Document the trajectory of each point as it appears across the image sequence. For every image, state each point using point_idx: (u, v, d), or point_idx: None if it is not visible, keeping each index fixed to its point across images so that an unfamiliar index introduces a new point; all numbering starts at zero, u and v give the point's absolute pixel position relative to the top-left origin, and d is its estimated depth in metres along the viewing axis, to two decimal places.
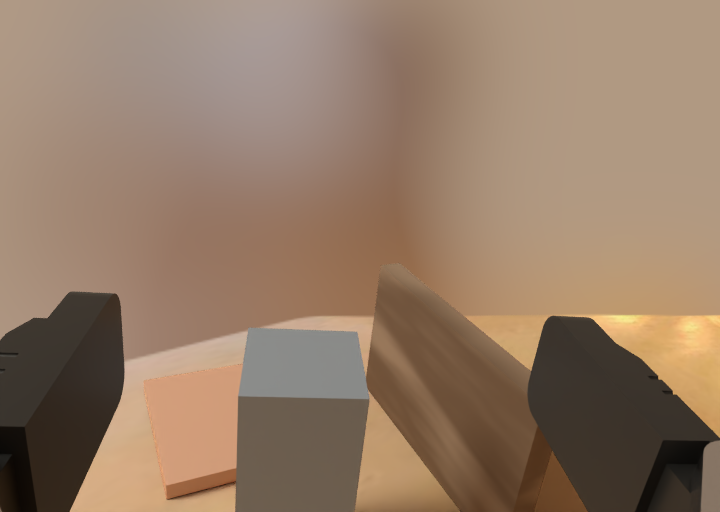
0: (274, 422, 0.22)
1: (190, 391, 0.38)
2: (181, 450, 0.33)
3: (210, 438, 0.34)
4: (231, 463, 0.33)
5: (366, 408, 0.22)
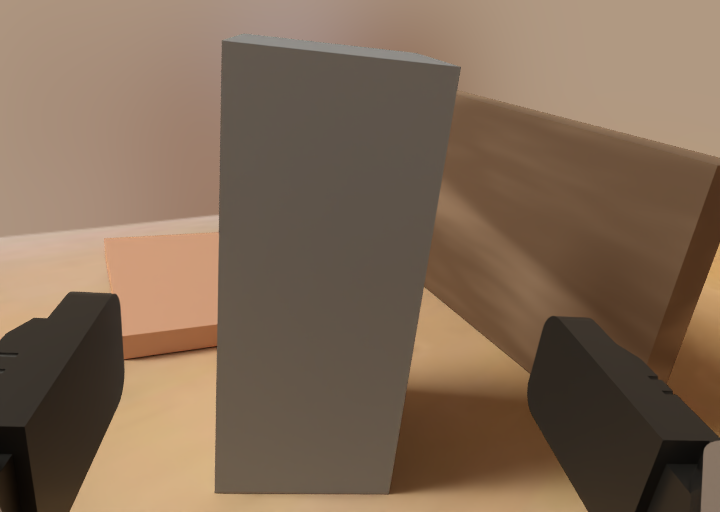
0: (287, 107, 0.12)
1: (166, 250, 0.28)
2: (147, 303, 0.23)
3: (189, 293, 0.25)
4: None
5: (454, 88, 0.12)
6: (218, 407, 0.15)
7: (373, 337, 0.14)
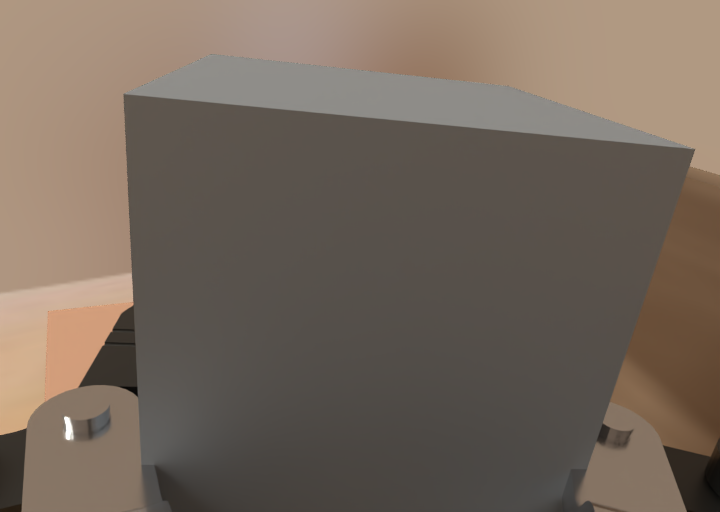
0: (289, 246, 0.05)
1: None
2: None
3: None
4: None
5: (671, 196, 0.05)
6: None
7: None
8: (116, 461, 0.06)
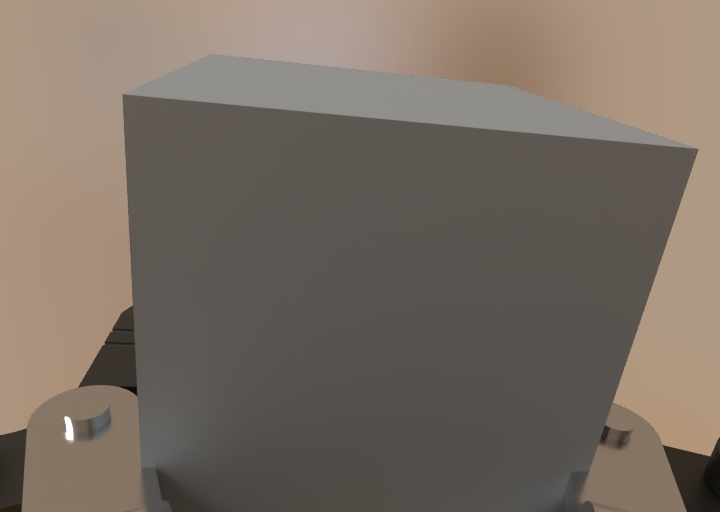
0: (291, 246, 0.05)
1: None
2: None
3: None
4: None
5: (674, 196, 0.05)
6: None
7: None
8: (116, 461, 0.06)
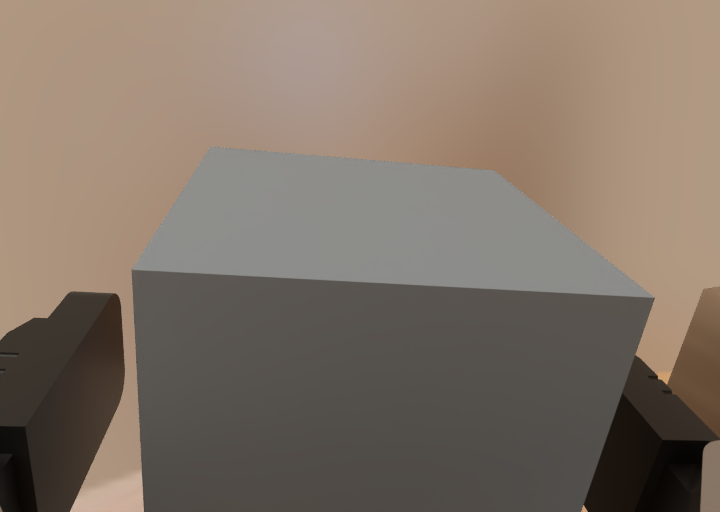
0: (284, 387, 0.06)
1: None
2: None
3: None
4: None
5: (634, 336, 0.06)
6: None
7: None
8: None
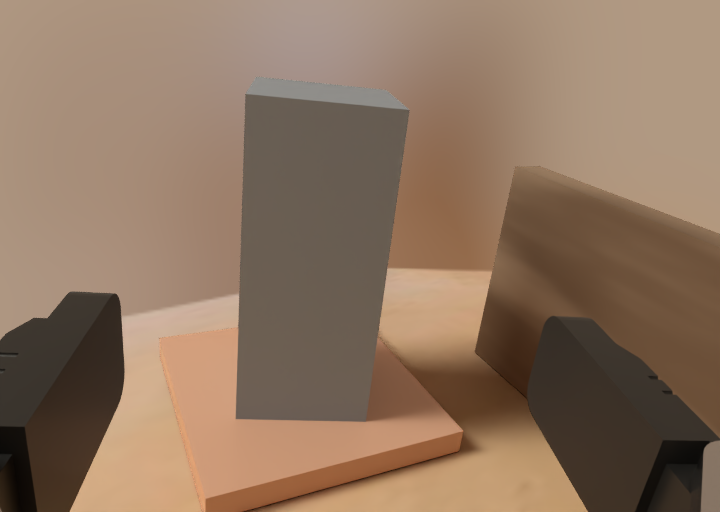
0: (290, 138, 0.17)
1: (230, 353, 0.25)
2: (225, 440, 0.20)
3: (269, 421, 0.22)
4: (310, 461, 0.20)
5: (405, 124, 0.18)
6: (239, 352, 0.20)
7: (352, 301, 0.20)
8: None
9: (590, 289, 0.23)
